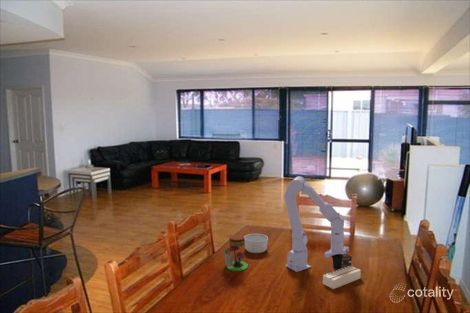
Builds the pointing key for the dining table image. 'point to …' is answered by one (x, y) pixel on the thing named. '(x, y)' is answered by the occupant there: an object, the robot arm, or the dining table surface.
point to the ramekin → (256, 243)
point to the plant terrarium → (234, 245)
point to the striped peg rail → (341, 277)
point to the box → (345, 261)
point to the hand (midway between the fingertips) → (336, 268)
